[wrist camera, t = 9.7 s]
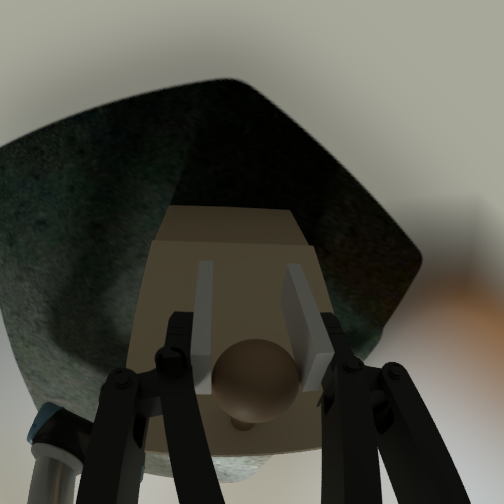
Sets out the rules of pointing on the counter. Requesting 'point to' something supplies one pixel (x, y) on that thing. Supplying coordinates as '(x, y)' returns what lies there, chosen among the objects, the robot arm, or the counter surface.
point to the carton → (230, 225)
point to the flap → (234, 344)
